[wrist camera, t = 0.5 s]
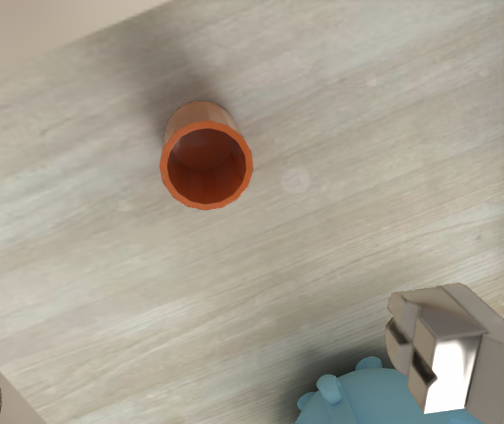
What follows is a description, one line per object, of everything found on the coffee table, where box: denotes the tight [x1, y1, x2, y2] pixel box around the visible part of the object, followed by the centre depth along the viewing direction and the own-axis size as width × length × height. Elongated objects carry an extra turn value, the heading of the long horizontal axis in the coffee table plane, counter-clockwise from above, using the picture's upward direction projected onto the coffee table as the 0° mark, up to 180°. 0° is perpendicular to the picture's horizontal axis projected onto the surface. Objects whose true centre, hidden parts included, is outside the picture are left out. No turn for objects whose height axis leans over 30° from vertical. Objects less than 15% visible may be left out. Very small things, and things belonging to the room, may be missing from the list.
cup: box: [160, 101, 253, 210], centre depth 27 cm, size 5×5×7 cm
